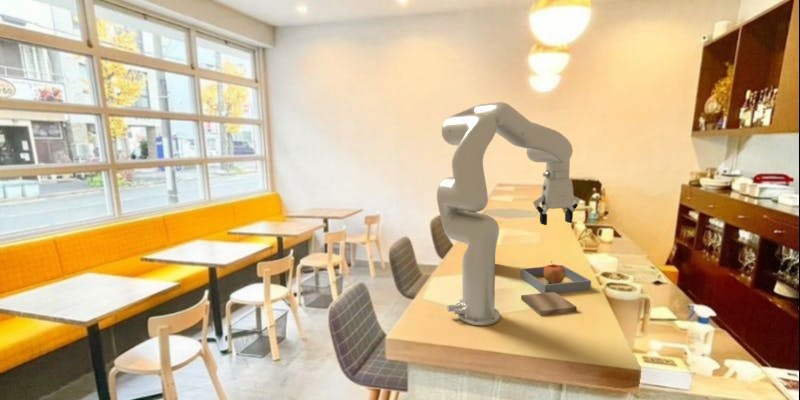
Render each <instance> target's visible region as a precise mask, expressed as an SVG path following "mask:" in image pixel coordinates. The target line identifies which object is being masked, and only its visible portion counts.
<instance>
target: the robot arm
mask: <svg viewBox="0 0 800 400" xmlns="http://www.w3.org/2000/svg"><path fill="white" fill-rule="evenodd" d="M496 134H497V135H499V136H501V137H502V138H503V139H505V140H506V141H507V142H509V143H510V144H511V145H513V146H514V147H519V148H523V149H526V155H527V158H528V159H529V160H530V161H532V162H534V163H546V165H545V166H546V167H545V169H546V170H545V172H543V173H542V176H543V178H545V179H544V181H543V182H542V183H543V184H542V189H541V196H540V197H538V198H537V199H535V200H534V201H533V202H532V204H533V205H534V207H535V210H537V212H538V213H539V223H540V224H541V225H543V226H547V224H548V213H547V212H548V211H549V209H550V210H553V209H554V210H555V209H566V210H565V213H564V221H565V222H566V223H569V224H572V223H573V218H574V217H573V216H574V215H573V213H574V212H575V210H576V209H577V207H578V206H579V205H578V204H579V203H580V201H581V199H580V198H579V197H577V196H575V195H574V186H573V181H572V179H571V178H570V161H571V158H572V156H573V151H574V150H573V145H572V142H570V140H569V139H568V138H567V137H566V136H565V135H563V133H561V132H559V131H557V130H555V129H552V128H549V127H546V126H544V125H542V124H539V123H535V122H532V121H530V120H529V119H528V118H526V117H525V116H524V115H522V114H521V113H520V111H518V110H516V109H515V108H514V107H513V106H511V105H510V104H508V103H506V102H502V101H501V102H500V101H498V102H489V103H482V104H481V103H480V104H477V105H474V106H471V107H469V108H467V109H465V110H462V111H460V112H458V113H455V114H452V115H451V116H449V117H447V118H446V120H444V122H443V123H442V125H441V137H442V138H443V139H444V142H446V143H447V144H448V145H449V144H450V145H452V146H457V148H456V150H455V151H454V154H453V155H452V160H451V169H452V176H448V177H446V178H444V179H443V180H441V181H440V183H439V184H438V187H437V189H436V202H437V207H438V211H439V217H440V221H441V225H442V229H443V231H444V235H446V236H447V237H448V238H449V239H451V240H453V241H456V242H459V243H464V244H466V245H467V248H466V249H465V252H464V254H463V256H462V262H461V263H462V264H461V267H462V299H459V303H458V302H457V303H456V304H449V305H446V310H447V312H448V313H449V312H450V313H451V312H453V314H454V315H457V317H458V319H459V320H460V321H462V322H464V323H466V324H469V325H472V326H490V325H494V324H496V323H498V322H499V321H500V319H501V313H500V310H498V309H497V308H495V307H496V299H495V298H496V295H495V294H496V291H495V290H496V250H497V245H498V244H497V243H498V240H499V235H500V228H499V227H500V226H499V224H498V221H497V220H495V218H493V217H492V216H490V215H488V214H485V213H478V212H481V211H483V210H485V209H486V207H487V205H488V203H489V202H488V201H489V197H488V196H489V195H488V189H487V182H486V177H485V171H484V155H485V153H486V151H487V149H488V147H489V145H490V144H491V142H492V140H493V139H494V137H495V135H496ZM540 204H541V206H540Z"/></svg>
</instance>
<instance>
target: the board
mask: <svg viewBox="0 0 800 400" xmlns="http://www.w3.org/2000/svg"><path fill="white" fill-rule="evenodd" d="M520 301H522V302H523V303H525V304H526V306H528V307H529V308H530V309H532V310H533V311H534V312H535V313H537V315H539V316H540V317H542V316H550V315H558V314H559V315H560V314H566V313H568V314H569V313H573V312H575V313H576V312H577V306H576V305H575V304H573V303H571V302H570V301H569V300H567V299H565V298H564V297H563V296H561V295H560V294H557V293H555V292H548V293H541V292H539V293H531V294H522V295H520Z"/></svg>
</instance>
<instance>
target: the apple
mask: <svg viewBox="0 0 800 400" xmlns="http://www.w3.org/2000/svg"><path fill="white" fill-rule="evenodd" d="M550 262H551V264H547V265H545V266H546V267H545V266H544V267H545V268H544V271H543V273H544V276H543V277H544V279H545V281H546V282H548V284H556V283H563V281H564V279H565V278H566V277H565V270H564V268H563V267H561V266H559V265H560V264H553V261H550Z"/></svg>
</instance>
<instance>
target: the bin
mask: <svg viewBox="0 0 800 400" xmlns="http://www.w3.org/2000/svg"><path fill="white" fill-rule="evenodd" d="M558 265H559V266H561V267H563V268H564V270H565V277H564V278H566V279H568V280H571V281H570V282H561V283H556V284H552V283H547V284H546V283H544V282H542V281H541V280H540V279H539V278H538V277H544V273H543V271H544V268H545V267H546V266H547V265H545V266H537V267H524V268H520V279H522V280H523V281H525V282H526V283H528V284H529V285H530V286H531V287H533V288H534V289H535V290H537V291H538V292H539V293H548V292H555V293H557V294H558V295H560V294H567V293H575V292H577V293H578V292H587V291H588V292H589V291H591V289H592V280H590V279H589V278H587V277H585V276H583V275H582V274H580V273H578V272H576V271H574V270H572V269H570V268H568V267H566V266H565V265H563V264H558Z"/></svg>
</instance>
